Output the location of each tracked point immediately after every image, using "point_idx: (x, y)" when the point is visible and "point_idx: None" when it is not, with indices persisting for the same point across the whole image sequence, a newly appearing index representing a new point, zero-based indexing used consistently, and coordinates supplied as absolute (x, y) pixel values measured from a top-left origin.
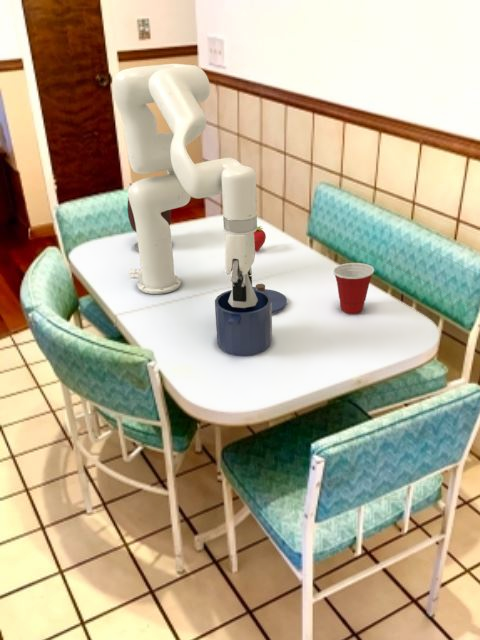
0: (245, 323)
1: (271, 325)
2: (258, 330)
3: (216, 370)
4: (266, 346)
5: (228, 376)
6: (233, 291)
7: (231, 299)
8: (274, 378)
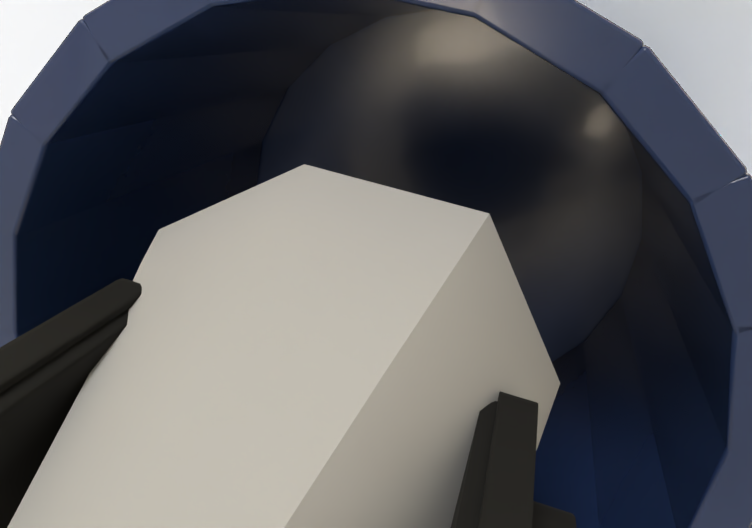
0: None
1: None
2: None
3: (58, 19)
4: None
5: (10, 108)
6: (9, 358)
7: (199, 244)
8: None
